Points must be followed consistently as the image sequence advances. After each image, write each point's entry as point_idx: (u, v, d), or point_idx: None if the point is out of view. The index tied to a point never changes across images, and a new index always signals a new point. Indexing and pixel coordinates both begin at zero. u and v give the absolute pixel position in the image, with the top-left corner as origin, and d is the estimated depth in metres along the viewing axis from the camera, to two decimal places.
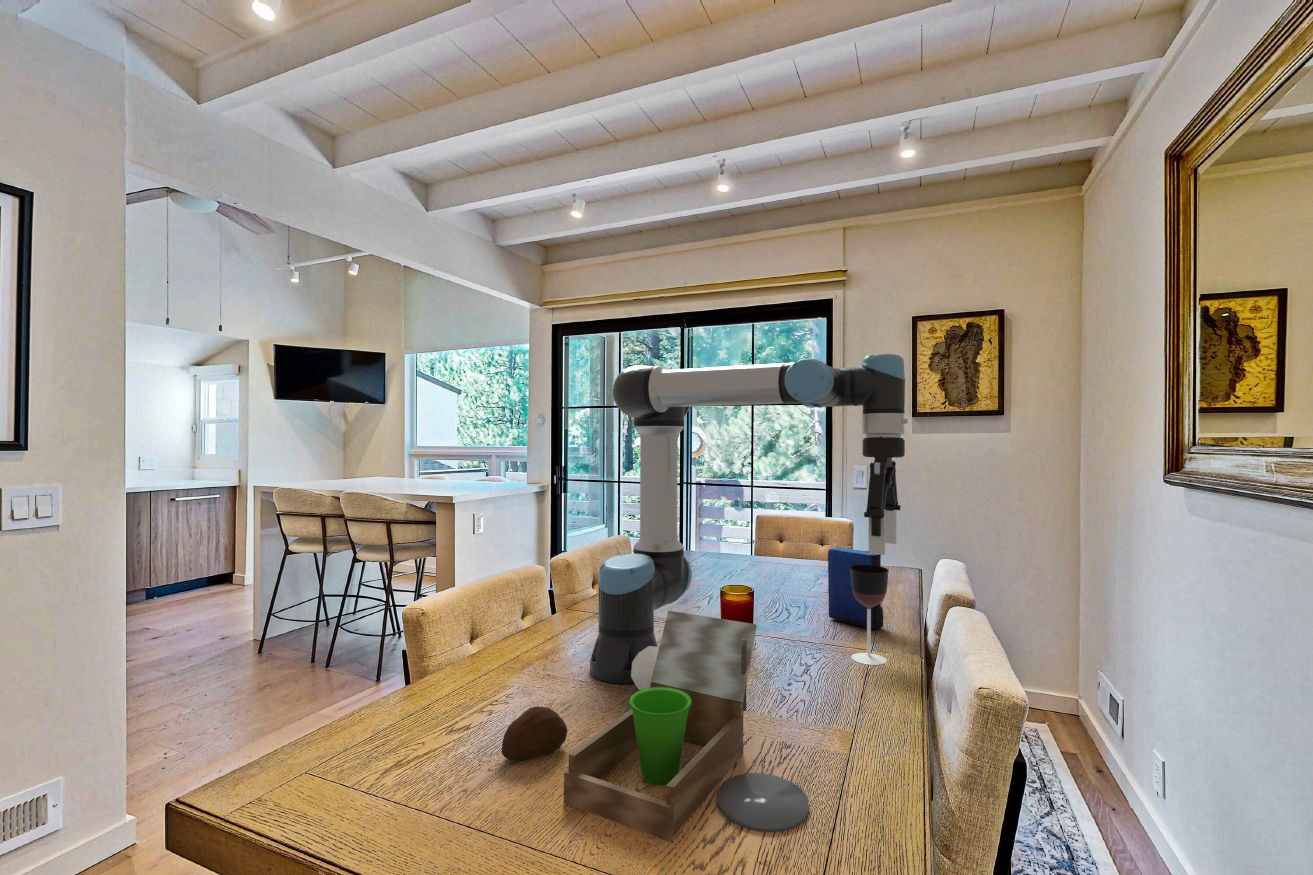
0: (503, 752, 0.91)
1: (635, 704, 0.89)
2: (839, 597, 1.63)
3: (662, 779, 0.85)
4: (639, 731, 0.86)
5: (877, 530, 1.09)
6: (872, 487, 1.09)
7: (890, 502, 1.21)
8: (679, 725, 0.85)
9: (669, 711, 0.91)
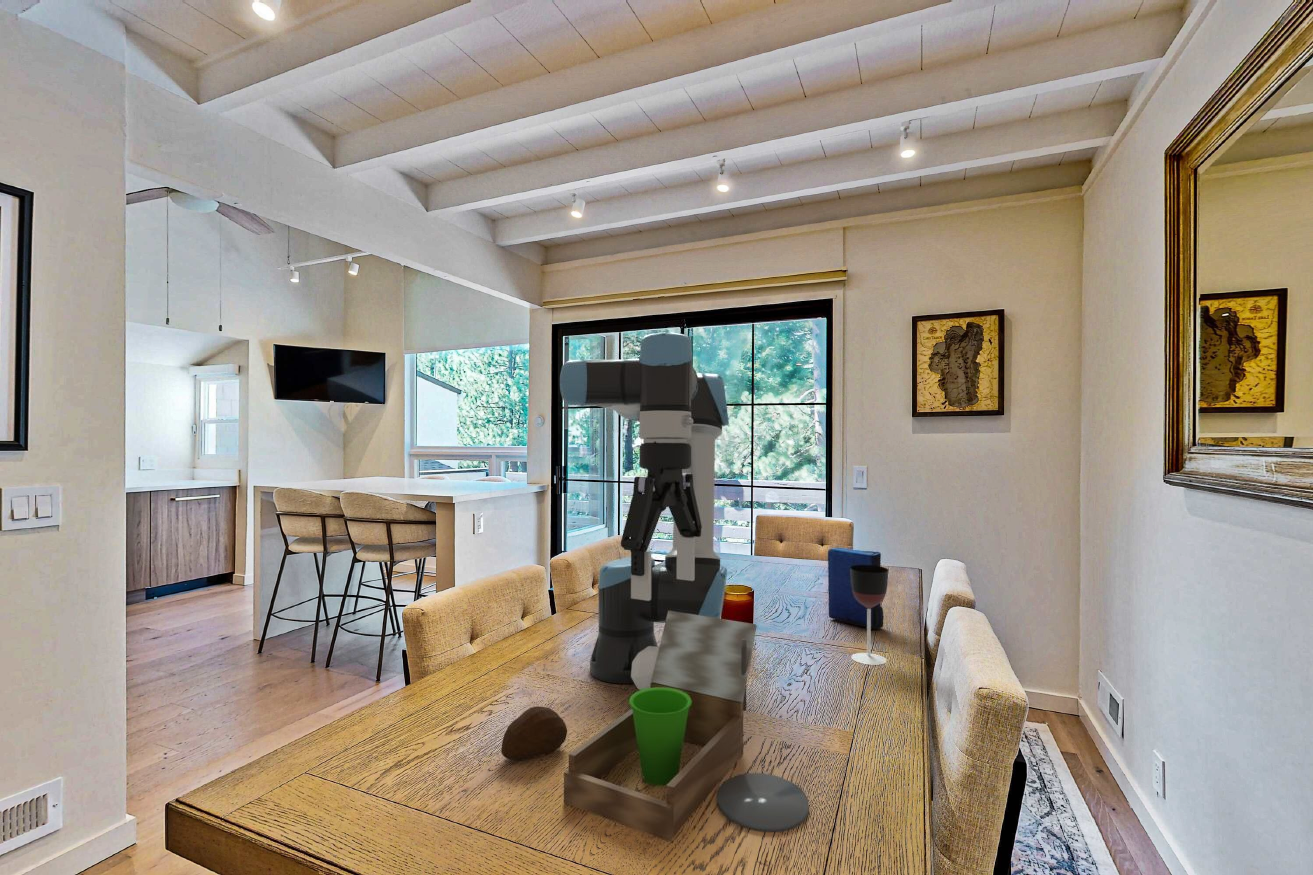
0: (503, 752, 0.91)
1: (635, 704, 0.89)
2: (839, 597, 1.63)
3: (662, 779, 0.85)
4: (639, 731, 0.86)
5: (637, 568, 0.81)
6: (633, 509, 0.82)
7: (686, 526, 0.94)
8: (679, 725, 0.85)
9: (669, 711, 0.91)
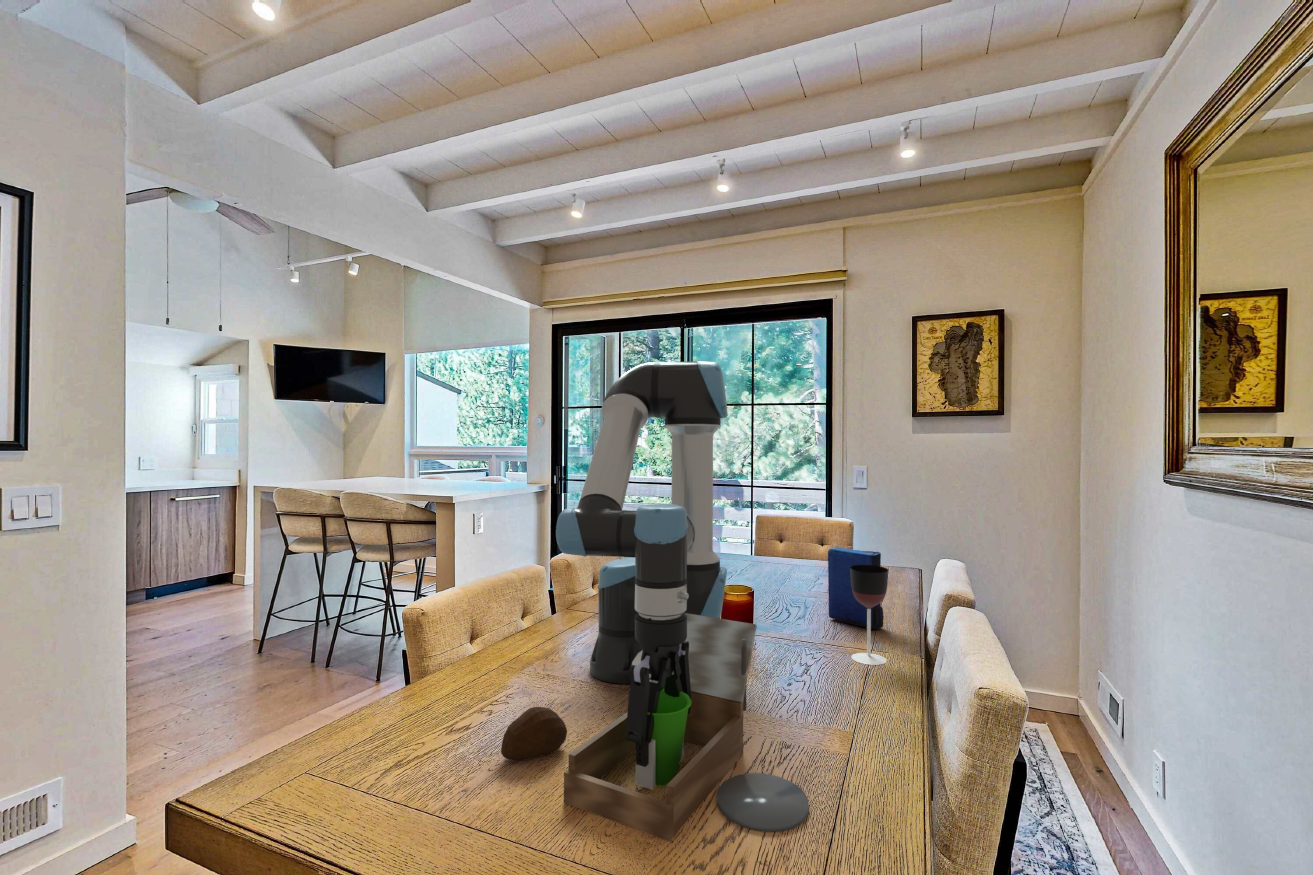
0: (503, 752, 0.91)
1: None
2: (839, 597, 1.63)
3: (662, 779, 0.85)
4: None
5: (642, 759, 0.83)
6: (632, 702, 0.82)
7: None
8: (679, 725, 0.85)
9: (669, 711, 0.91)
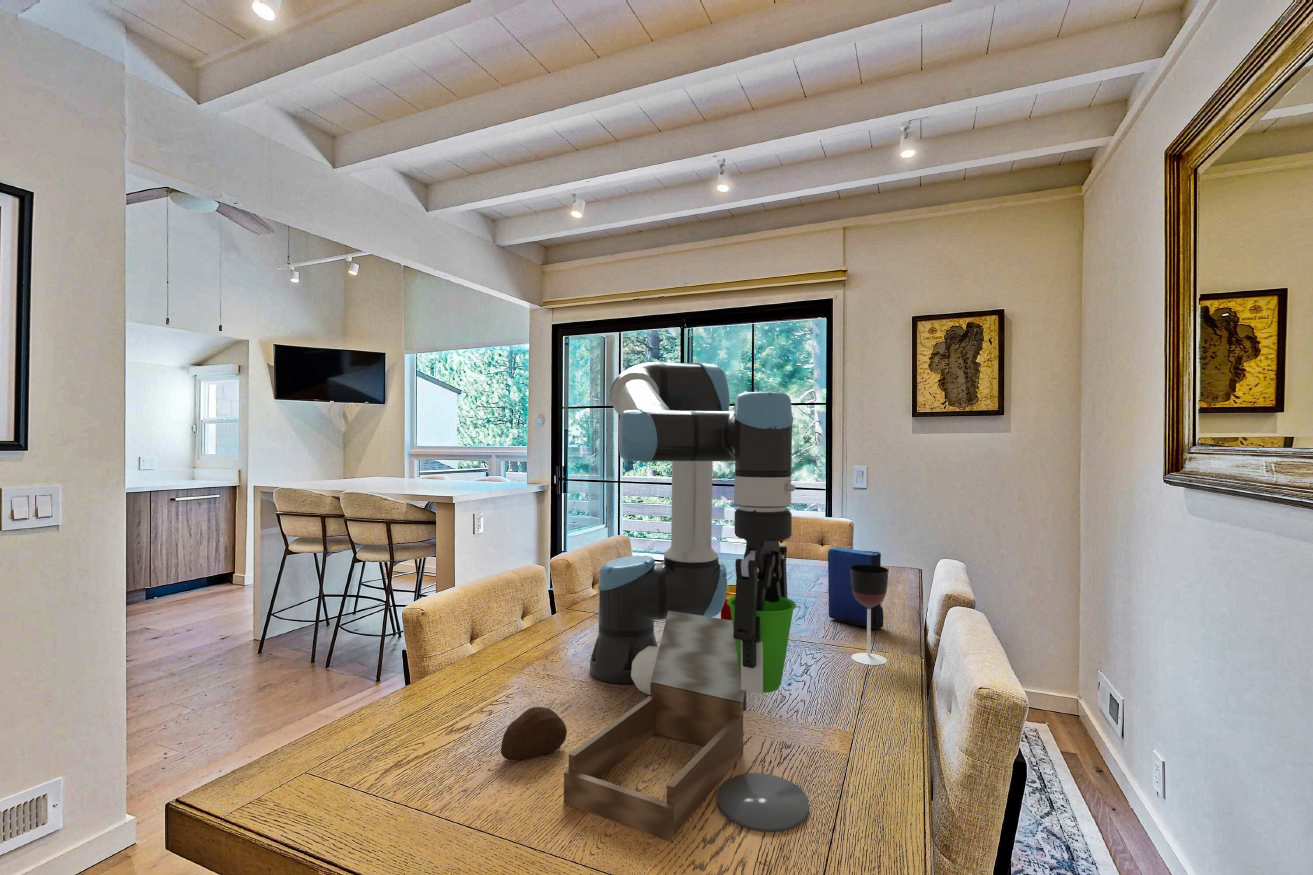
0: (502, 752, 0.91)
1: None
2: (839, 597, 1.63)
3: (767, 685, 0.78)
4: None
5: (750, 659, 0.77)
6: (740, 597, 0.76)
7: None
8: (785, 626, 0.78)
9: None
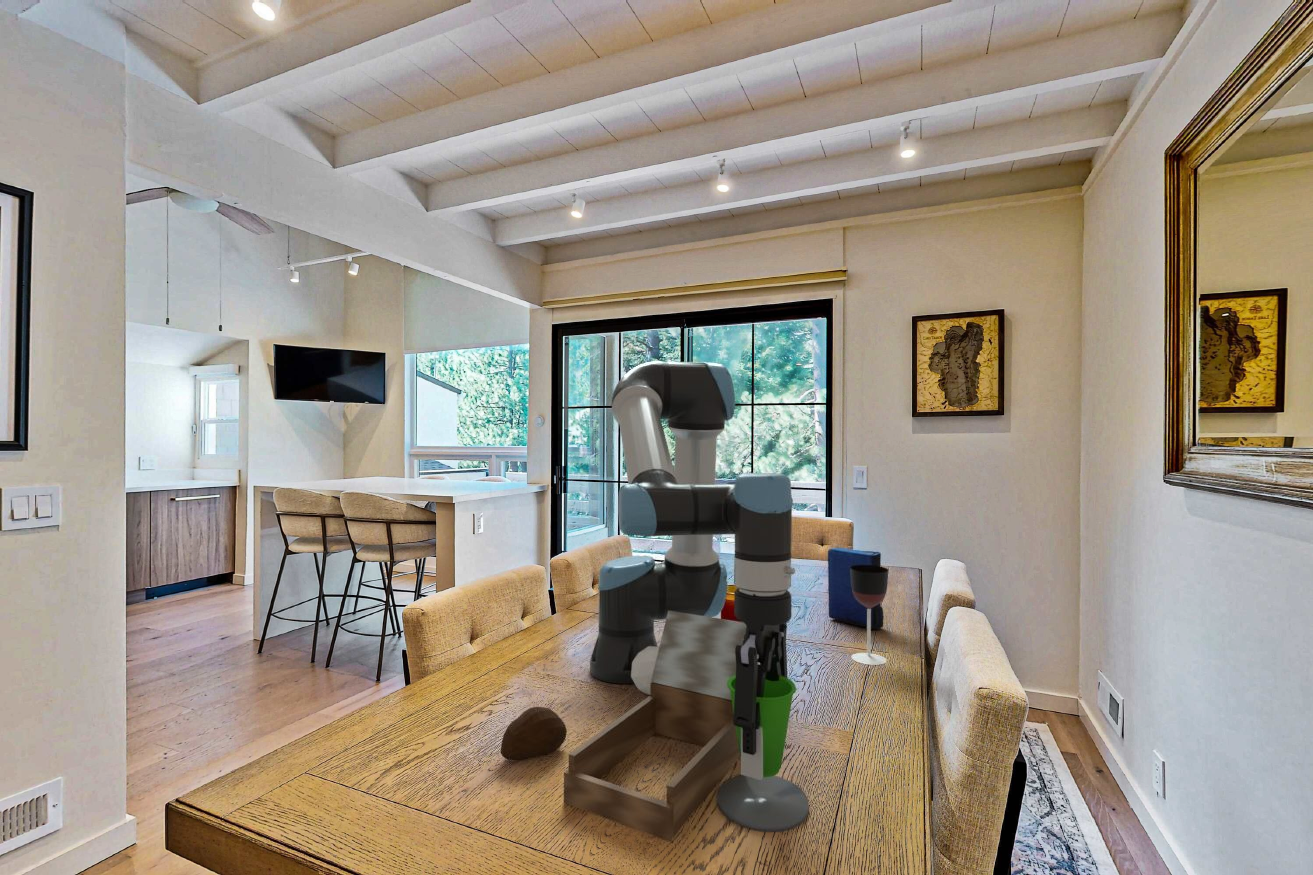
0: (502, 752, 0.91)
1: None
2: (839, 597, 1.63)
3: (767, 770, 0.78)
4: None
5: (750, 746, 0.77)
6: (740, 685, 0.76)
7: None
8: (785, 711, 0.78)
9: (767, 697, 0.84)
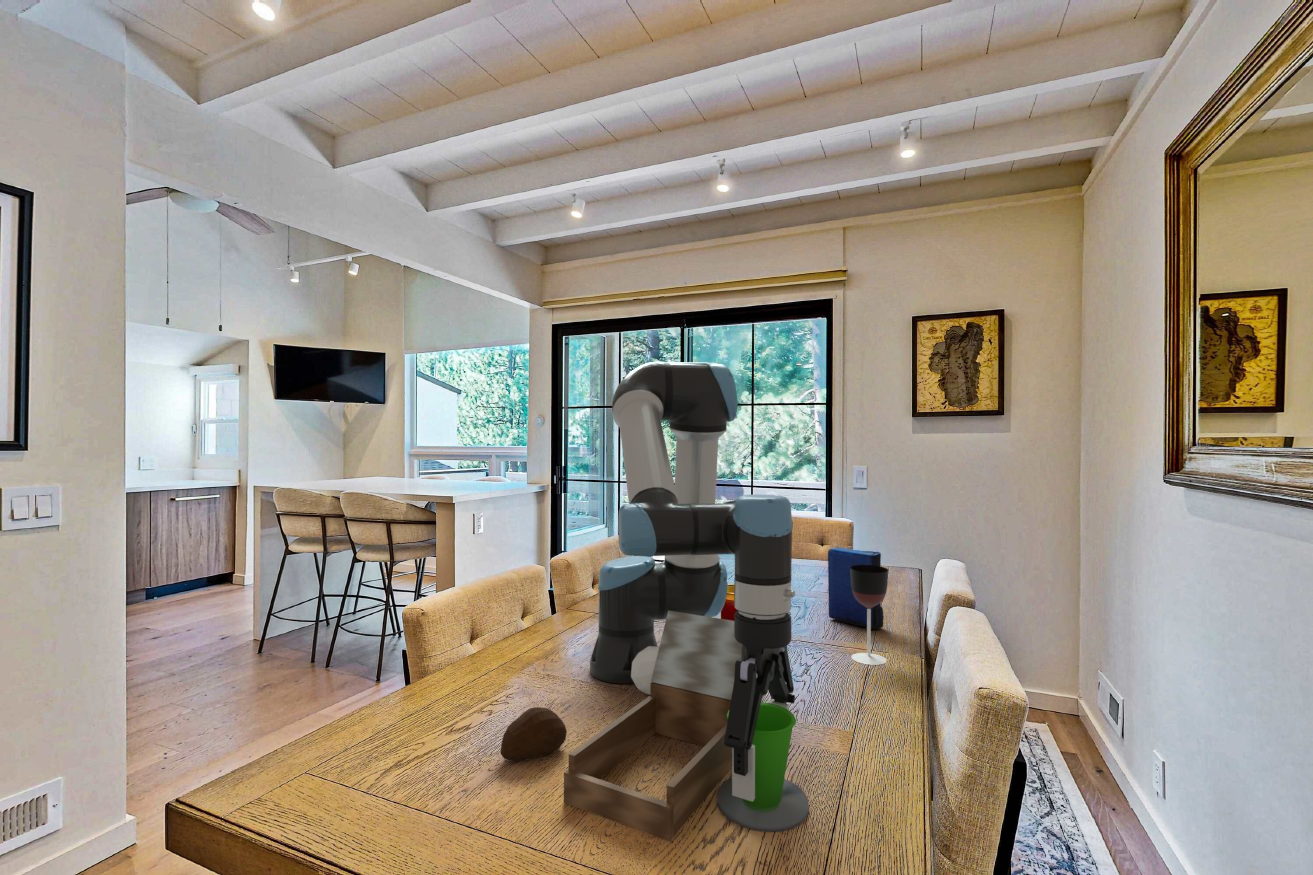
0: (502, 753, 0.91)
1: None
2: (839, 597, 1.63)
3: (767, 803, 0.78)
4: None
5: (741, 767, 0.74)
6: (736, 701, 0.75)
7: (779, 693, 0.87)
8: (786, 744, 0.78)
9: (766, 728, 0.84)
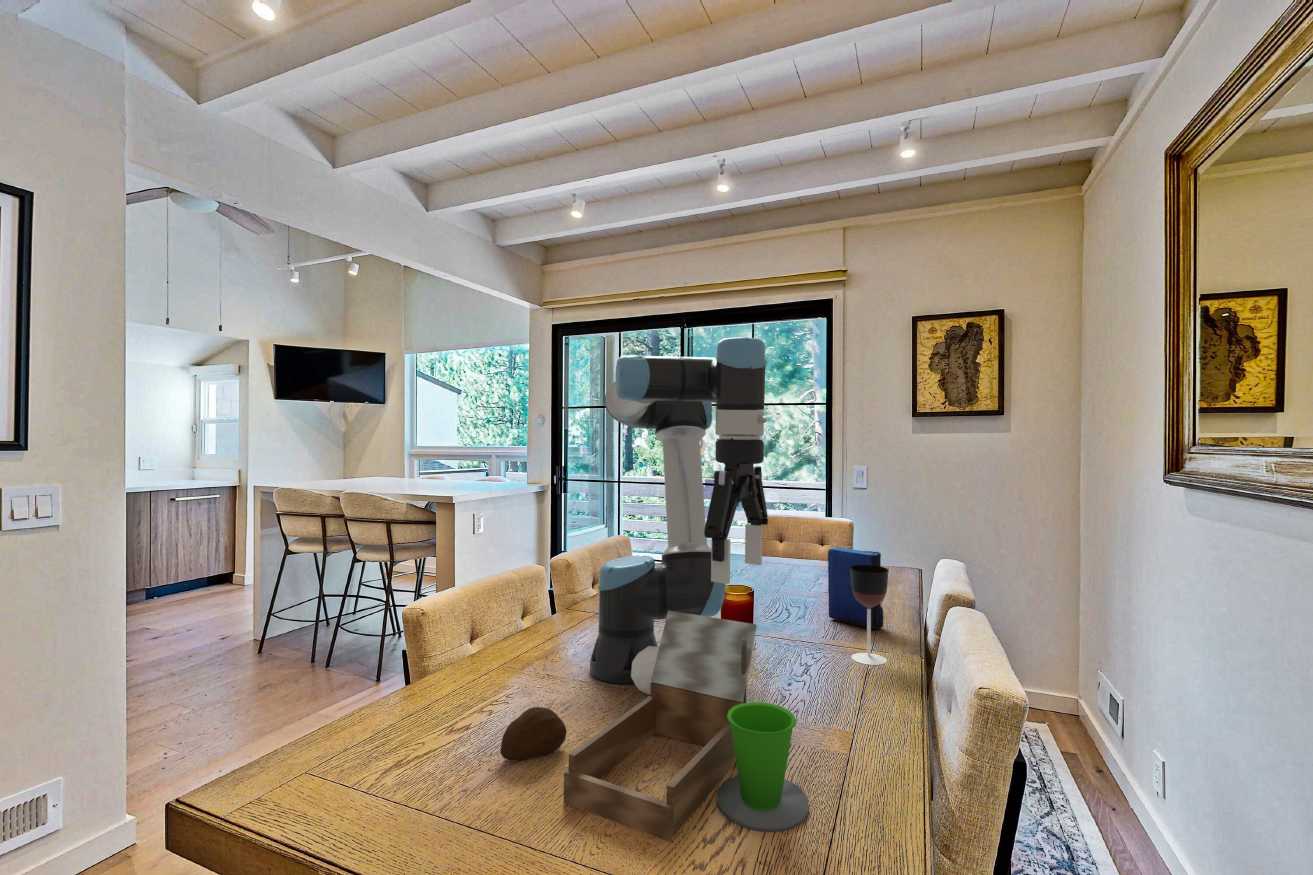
0: (502, 752, 0.91)
1: (732, 721, 0.82)
2: (839, 597, 1.63)
3: (767, 803, 0.78)
4: (741, 751, 0.79)
5: (718, 554, 0.89)
6: (714, 501, 0.89)
7: (754, 515, 1.01)
8: (786, 744, 0.78)
9: (766, 728, 0.84)
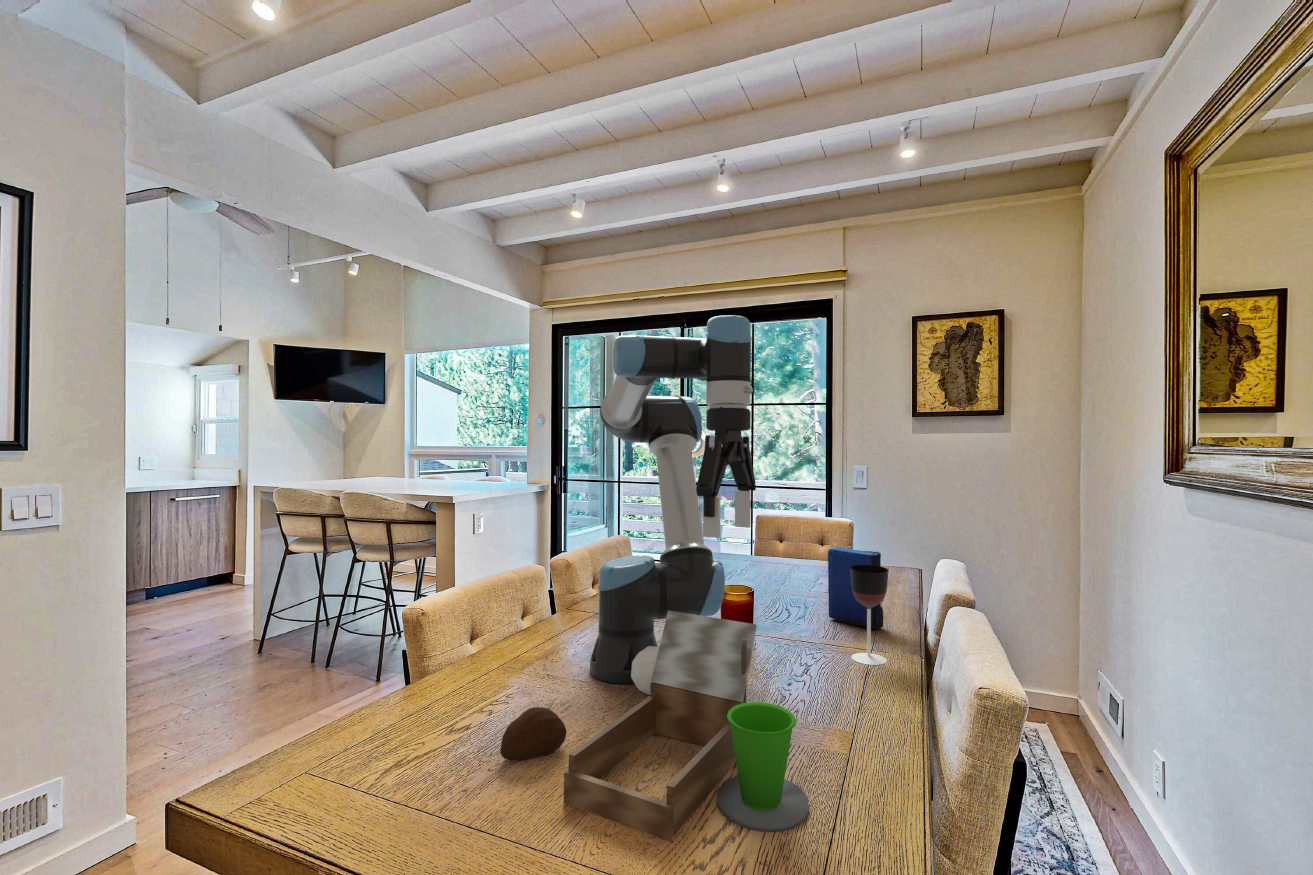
0: (502, 753, 0.91)
1: (732, 721, 0.82)
2: (839, 597, 1.63)
3: (767, 803, 0.78)
4: (741, 751, 0.79)
5: (709, 510, 0.97)
6: (705, 462, 0.98)
7: (743, 481, 1.10)
8: (786, 744, 0.78)
9: (766, 728, 0.84)
